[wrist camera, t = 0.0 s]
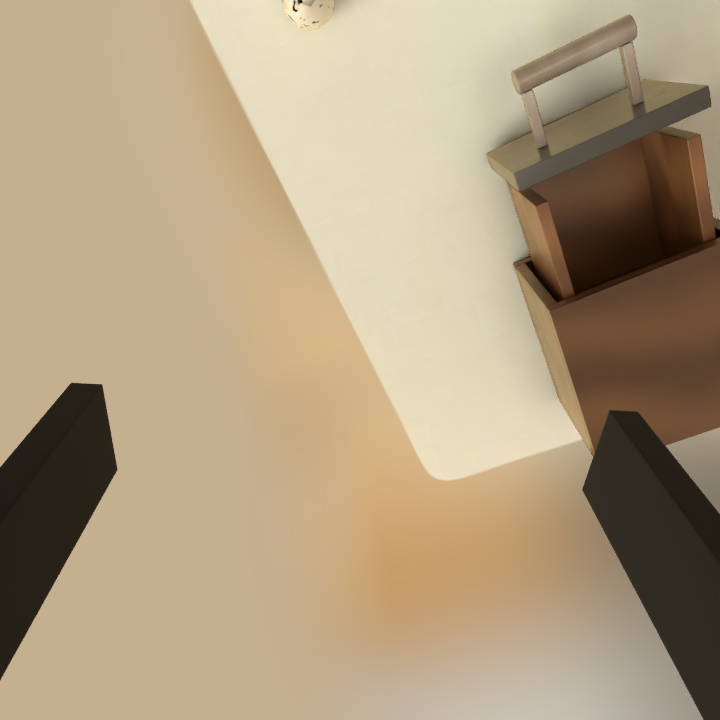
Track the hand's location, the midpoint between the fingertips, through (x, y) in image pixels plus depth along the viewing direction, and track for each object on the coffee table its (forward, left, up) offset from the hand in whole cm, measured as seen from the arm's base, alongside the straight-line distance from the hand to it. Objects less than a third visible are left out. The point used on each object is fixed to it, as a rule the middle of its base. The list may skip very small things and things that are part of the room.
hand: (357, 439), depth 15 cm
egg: (-12, +2, -31) cm, 34 cm away
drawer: (+6, +16, -30) cm, 35 cm away
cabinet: (+18, +16, -31) cm, 39 cm away
